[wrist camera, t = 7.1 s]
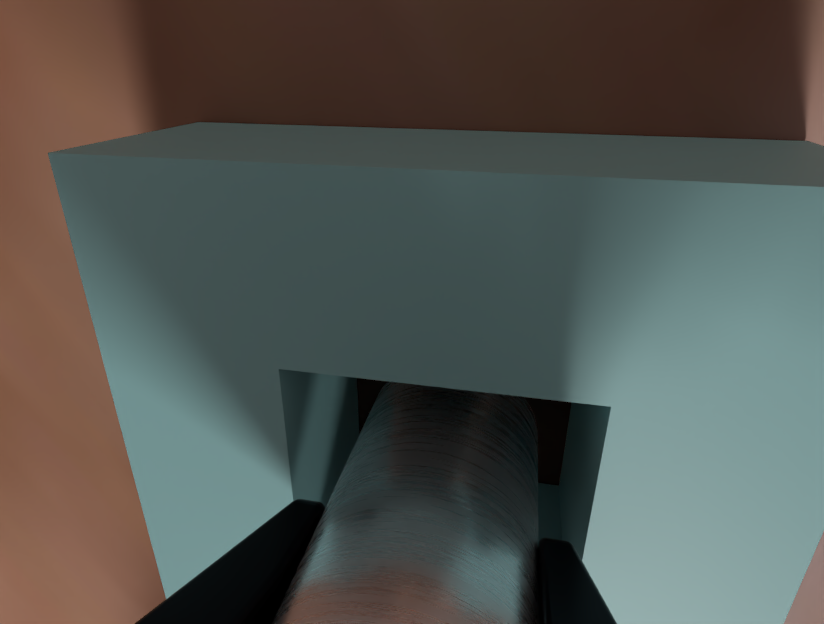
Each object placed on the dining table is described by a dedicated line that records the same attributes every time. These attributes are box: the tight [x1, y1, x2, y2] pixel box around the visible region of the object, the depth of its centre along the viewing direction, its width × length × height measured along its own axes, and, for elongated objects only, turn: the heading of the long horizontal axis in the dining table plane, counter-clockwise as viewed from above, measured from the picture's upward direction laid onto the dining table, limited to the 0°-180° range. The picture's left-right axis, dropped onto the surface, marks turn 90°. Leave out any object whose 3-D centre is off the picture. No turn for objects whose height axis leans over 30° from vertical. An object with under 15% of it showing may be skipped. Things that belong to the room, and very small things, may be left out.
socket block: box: [48, 122, 824, 624], centre depth 10 cm, size 10×10×4 cm
